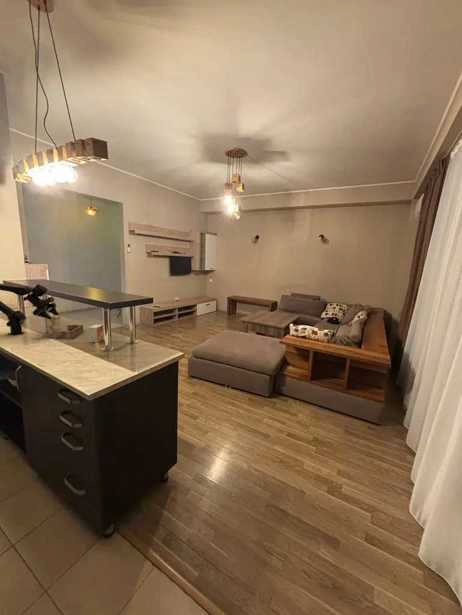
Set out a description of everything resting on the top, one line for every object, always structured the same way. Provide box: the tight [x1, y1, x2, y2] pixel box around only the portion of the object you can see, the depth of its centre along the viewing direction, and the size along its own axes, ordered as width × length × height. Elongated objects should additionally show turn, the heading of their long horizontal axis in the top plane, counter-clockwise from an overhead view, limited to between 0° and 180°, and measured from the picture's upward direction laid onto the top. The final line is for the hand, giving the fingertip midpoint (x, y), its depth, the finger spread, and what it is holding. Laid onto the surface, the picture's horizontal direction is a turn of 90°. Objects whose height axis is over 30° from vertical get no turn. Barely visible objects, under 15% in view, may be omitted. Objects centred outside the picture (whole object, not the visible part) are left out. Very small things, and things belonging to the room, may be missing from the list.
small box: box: [88, 324, 104, 344], centre depth 166 cm, size 8×6×10 cm
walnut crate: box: [55, 324, 84, 340], centre depth 174 cm, size 10×17×5 cm, turn 9°
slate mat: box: [41, 332, 56, 338], centre depth 173 cm, size 11×12×1 cm
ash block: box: [47, 314, 62, 335], centre depth 172 cm, size 5×5×13 cm
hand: (55, 317), depth 171 cm, fingers open, 9 cm apart
